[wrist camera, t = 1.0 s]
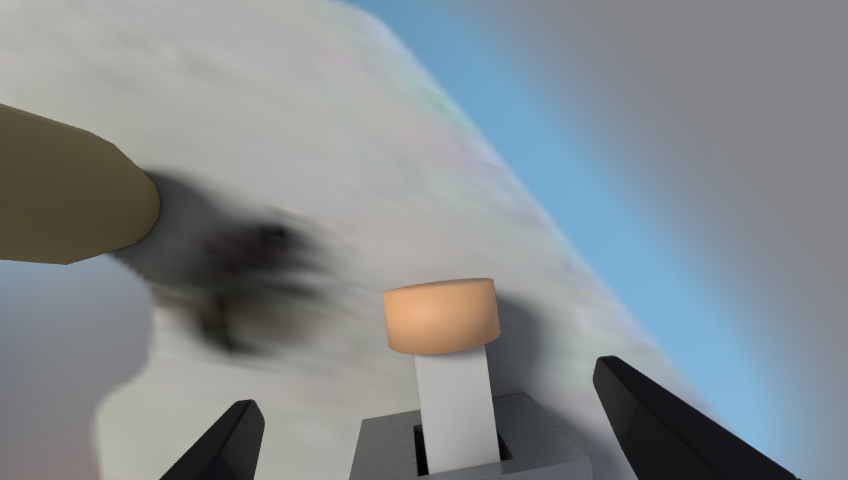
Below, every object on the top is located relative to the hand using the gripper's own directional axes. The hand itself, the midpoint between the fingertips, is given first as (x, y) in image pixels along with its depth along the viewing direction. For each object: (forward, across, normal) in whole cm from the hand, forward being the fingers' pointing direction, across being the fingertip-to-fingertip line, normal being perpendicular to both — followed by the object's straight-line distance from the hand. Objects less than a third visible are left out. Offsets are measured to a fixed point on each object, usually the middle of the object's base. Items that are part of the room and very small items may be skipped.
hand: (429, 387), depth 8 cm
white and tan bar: (+9, -1, +12) cm, 15 cm away
